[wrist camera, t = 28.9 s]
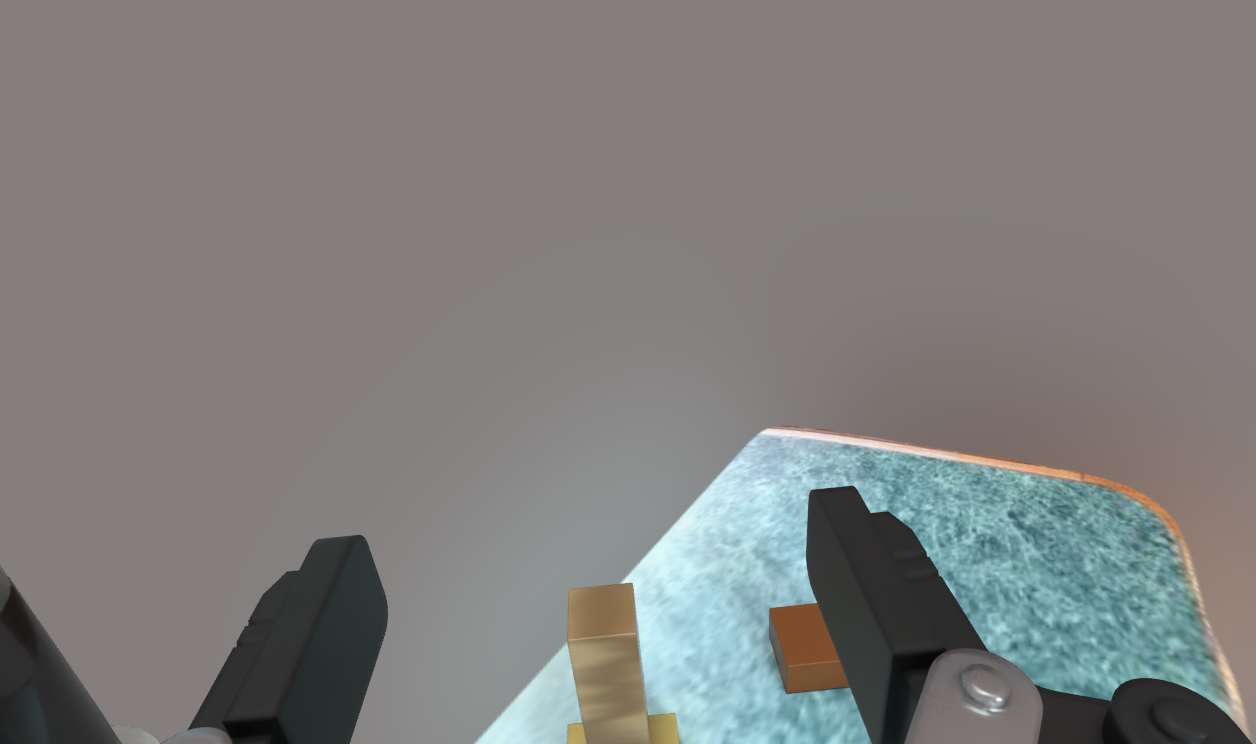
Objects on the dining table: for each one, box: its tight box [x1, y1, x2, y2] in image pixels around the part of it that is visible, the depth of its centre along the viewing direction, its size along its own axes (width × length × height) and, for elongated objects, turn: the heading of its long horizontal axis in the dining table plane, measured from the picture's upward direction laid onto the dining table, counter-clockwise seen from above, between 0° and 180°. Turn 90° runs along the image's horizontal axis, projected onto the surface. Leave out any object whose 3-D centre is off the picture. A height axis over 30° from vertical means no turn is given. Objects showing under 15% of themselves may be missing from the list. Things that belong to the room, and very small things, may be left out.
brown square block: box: [769, 603, 850, 693], centre depth 42 cm, size 4×4×2 cm
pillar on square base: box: [567, 583, 679, 744], centre depth 34 cm, size 6×5×13 cm
